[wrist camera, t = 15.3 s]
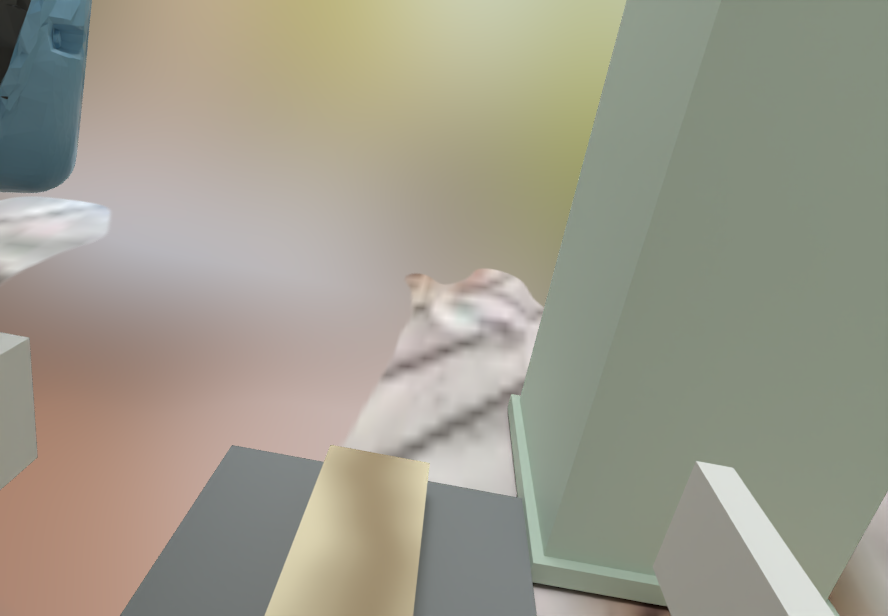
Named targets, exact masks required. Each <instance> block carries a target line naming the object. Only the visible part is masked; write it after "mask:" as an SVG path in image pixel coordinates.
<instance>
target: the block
mask: <svg viewBox="0 0 888 616" xmlns="http://www.w3.org/2000/svg"><path fill="white" fill-rule="evenodd" d="M429 464H430V463H426V462H421V461H415V460H410V459H404V458H399V457H394V456H388V455H383V454H377V453H372V452H367V451H361V450H356V449H350V448H345V447H340V446H334V445H330V448H329V451H328V453H327V456H326V458H325V461H324V463H323V466H322V468H321V471H320V474H319V476H318V479H317V481H316V484H315V486H314V489H313V492H312V494H311V497H310V499H309V502H308V505H307V507H306V510H305V512H304V515H303V517H302V520H301V523H300V525H299V528H298V530H297V533H296V536H295V538H294V541H293V543H292V546H291V549H290V551H289V554H288V556H287V559H286V561H285V564H284V567H283V569H282V572H281V574H280V577H279V580H278V582H277V585H276V587H275V590H274V592H273V595H272V598H271V600H270V603H269V605H268V608H267V611H266V613H265V616H413V612H414V602H415V593H416V584H417V575H418V566H419V556H420V547H421V538H422V529H423V519H424V510H425V501H426V492H427V483H428V473H429Z"/></svg>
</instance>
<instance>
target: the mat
mask: <svg viewBox="0 0 888 616" xmlns="http://www.w3.org/2000/svg"><path fill="white" fill-rule="evenodd" d="M323 463H324V462H321V461H316V460H310V459H305V458H299V457H294V456H288V455H283V454H278V453H272V452H267V451H261V450H256V449H251V448H245V447H239V446H233V445H232V446H231V448H230V449H229V451H228V452H227V454H226V455H225V457H224V458H223V460H222V461H221V463H220V464H219V466H218V467H217V469H216V470H215V472H214V473H213V475H212V476H211V478H210V479H209V481H208V483H207V484H206V486H205V487H204V489H203V490H202V492H201V493H200V495H199V496H198V498H197V499H196V501H195V502H194V504H193V505H192V507H191V508H190V510H189V511H188V513H187V515H186V516H185V518H184V519H183V521H182V522H181V524H180V525H179V527H178V528H177V530H176V531H175V533H174V534H173V536H172V537H171V539H170V540H169V542H168V543H167V545H166V546H165V548H164V550H163V551H162V553H161V554H160V556H159V557H158V559H157V560H156V562H155V563H154V565H153V566H152V568H151V569H150V571H149V572H148V574H147V575H146V577H145V578H144V580H143V582H142V583H141V584H140V586H139V588H138V589H137V591H136V592H135V594H134V595H133V597H132V598H131V600H130V601H129V603H128V604H127V606H126V608H125V609H124V610H123V612H122V614H121V615H120V616H265V613H266V611H267V608H268V605H269V603H270V600H271V598H272V595H273V592H274V590H275V587H276V585H277V582H278V580H279V577H280V574H281V572H282V569H283V567H284V564H285V561H286V559H287V556H288V554H289V551H290V549H291V546H292V543H293V541H294V538H295V536H296V533H297V530H298V528H299V525H300V523H301V520H302V517H303V515H304V512H305V510H306V507H307V505H308V502H309V499H310V497H311V494H312V492H313V489H314V486H315V484H316V481H317V479H318V476H319V474H320V471H321V468H322V466H323ZM413 616H536V608H535V600H534V591H533V583H532V575H531V567H530V559H529V551H528V543H527V535H526V527H525V519H524V511H523V502H522V498H517V497H512V496H506V495H501V494H495V493H490V492H485V491H479V490H474V489H468V488H463V487H457V486H452V485H446V484H441V483H436V482H430V481H428V483H427V492H426V501H425V510H424V519H423V529H422V538H421V547H420V556H419V566H418V575H417V584H416V593H415V602H414V612H413Z"/></svg>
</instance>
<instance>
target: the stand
mask: <svg viewBox="0 0 888 616" xmlns="http://www.w3.org/2000/svg"><path fill="white" fill-rule="evenodd" d="M508 415H509V424H510V433H511V442H512V450H513V459H514V468H515V477H516V486H517V494H518V498H522V502H523V511H524V519H525V527H526V535H527V543H528V551H529V559H530V567H531V575H532V582H534V583H540V584H545V585H551V586H556V587H562V588H567V589H573V590H579V591H584V592H590V593H595V594H601V595H606V596H612V597H617V598H623V599H629V600H634V601H640V602H645V603H651V604H656V605H662V606H667V604H666V601H665V598H664V596H663V593H662V590H661V588H660V585H659V583H658V580H657V577H656V575H655V572H654V569H653V565H654V562H655V560H656V557H657V555H658V552H659V550H660V548H661V545H662V543H663V540H664V538H665V535H666V533H667V530H668V528H669V526H670V523H671V521H672V518H673V516H674V513H675V511H676V508H677V506H678V504H679V501H680V499H681V496H682V494H683V491H684V489H685V486H686V484H687V482H688V479H689V477H690V474H691V472H692V469H693V467H694V464H695V462H696V461H699V462H705V463H710V464H715V465H721V466H726V467H732V468H734V470H735V471H736V472H737V474H738V475H739V477H740V478H741V480H742V481H743V483H744V484H745V486H746V487H747V488H748V490H749V491H750V493H751V494H752V496H753V497H754V499H755V500H756V502H757V503H758V504H759V506H760V507H761V509H762V510H763V512H764V513H765V515H766V516H767V518H768V519H769V521H770V522H771V523H772V525H773V526H774V528H775V529H776V531H777V532H778V534H779V535H780V537H781V538H782V539H783V541H784V542H785V544H786V545H787V547H788V548H789V550H790V551H791V553H792V554H793V555H794V557H795V558H796V560H797V561H798V563H799V564H800V566H801V567H802V569H803V570H804V571H805V573H806V574H807V576H808V577H809V579H810V580H811V582H812V583H813V585H814V586H815V588H816V589H817V590H818V592H819V593H820V595H821V596H822V598H823V599H824V601H825V602H826V604H827V605H828V606H829V608H830V609H831V611H832V612H833V614H834V615H835V616H840V615H839V614H838V612H837V611H836V610H835V608H834V607H833V605H832V604H831V602H830V601H829V599H828V597H829V595H830V593H831V592H832V590H833V588H834V586H835V584H836V583H837V581H838V579H839V577H840V576H841V574H842V572H843V570H844V568H845V567H846V565H847V563H848V561H849V559H850V558H851V556H852V554H853V552H854V550H855V549H856V547H857V545H858V543H859V541H860V540H861V538H862V536H863V534H864V532H865V531H866V529H867V527H868V525H869V524H870V522H871V520H872V518H873V516H874V515H875V513H876V511H877V509H878V507H879V506H880V504H881V502H882V500H883V498H884V497H885V495H886V493H887V491H888V0H627V1H626V5H625V9H624V13H623V16H622V20H621V24H620V27H619V32H618V35H617V39H616V42H615V46H614V50H613V54H612V57H611V61H610V65H609V68H608V72H607V76H606V80H605V84H604V87H603V91H602V94H601V98H600V102H599V106H598V109H597V113H596V117H595V121H594V124H593V128H592V132H591V135H590V139H589V143H588V147H587V151H586V154H585V158H584V162H583V165H582V169H581V173H580V177H579V180H578V184H577V188H576V191H575V196H574V199H573V203H572V207H571V210H570V214H569V218H568V221H567V225H566V229H565V232H564V236H563V240H562V244H561V247H560V251H559V255H558V259H557V262H556V266H555V270H554V274H553V277H552V281H551V285H550V289H549V293H548V296H547V300H546V303H545V307H544V311H543V314H542V318H541V322H540V326H539V329H538V333H537V337H536V341H535V344H534V348H533V352H532V356H531V359H530V363H529V367H528V370H527V374H526V378H525V382H524V385H523V389H522V393H521V396H518V395H513V394H511V397H510V401H509V405H508Z"/></svg>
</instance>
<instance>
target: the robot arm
mask: <svg viewBox="0 0 888 616" xmlns="http://www.w3.org/2000/svg"><path fill="white" fill-rule="evenodd" d="M91 4H92V0H0V192H18V193H38V192H44V191H47V190H50V189H52V188H55V187H57V186H59V185H60V184H62V183H63V182H64V181H65V180H66V179H67V178H68V177H69V176H70V174H71V173H72V171H73V169H74V166H75V162H76V156H77V147H78V138H79V129H80V119H81V109H82V99H83V89H84V79H85V68H86V57H87V47H88V35H89V23H90V14H91ZM31 368H32V367H31V353H30V339H29V338H28V337H22V336H17V335H12V334H7V333H1V332H0V490H1V489H2V488H3V487H4V486H5V485H7V484H8V483H9V482H10V481H11V480H12V479H13V478H15V477H16V476H17V475H18V474H19V473H20V472H21V471H23V470H24V469H25V468H26V467H27V466H28V465H29V464H30V463H32V462H33V461H34V460H35V459H36V458H37V442H36V427H35V412H34V397H33V382H32V369H31ZM653 569H654V572H655V575H656V577H657V580H658V583H659V585H660V588H661V590H662V593H663V596H664V598H665V601H666V604H667V606H668V609H669V611H670V614H671V616H835V615H834V614H833V612H832V611H831V609H830V608H829V606H828V605H827V604H826V602H825V601H824V599H823V598H822V596H821V595H820V593H819V592H818V590H817V589H816V588H815V586H814V585H813V583H812V582H811V580H810V579H809V577H808V576H807V574H806V573H805V571H804V570H803V569H802V567H801V566H800V564H799V563H798V561H797V560H796V558H795V557H794V555H793V554H792V553H791V551H790V550H789V548H788V547H787V545H786V544H785V542H784V541H783V539H782V538H781V537H780V535H779V534H778V532H777V531H776V529H775V528H774V526H773V525H772V523H771V522H770V521H769V519H768V518H767V516H766V515H765V513H764V512H763V510H762V509H761V507H760V506H759V504H758V503H757V502H756V500H755V499H754V497H753V496H752V494H751V493H750V491H749V490H748V488H747V487H746V486H745V484H744V483H743V481H742V480H741V478H740V477H739V475H738V474H737V472H736V471H735V470H734V468H732V467H726V466H721V465H715V464H710V463H705V462H699V461H696V462H695V464H694V467H693V469H692V472H691V474H690V477H689V479H688V482H687V484H686V486H685V489H684V491H683V494H682V496H681V499H680V501H679V504H678V506H677V508H676V511H675V513H674V516H673V518H672V521H671V523H670V526H669V528H668V530H667V533H666V535H665V538H664V540H663V543H662V545H661V548H660V550H659V552H658V555H657V557H656V560H655V562H654V565H653Z"/></svg>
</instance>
